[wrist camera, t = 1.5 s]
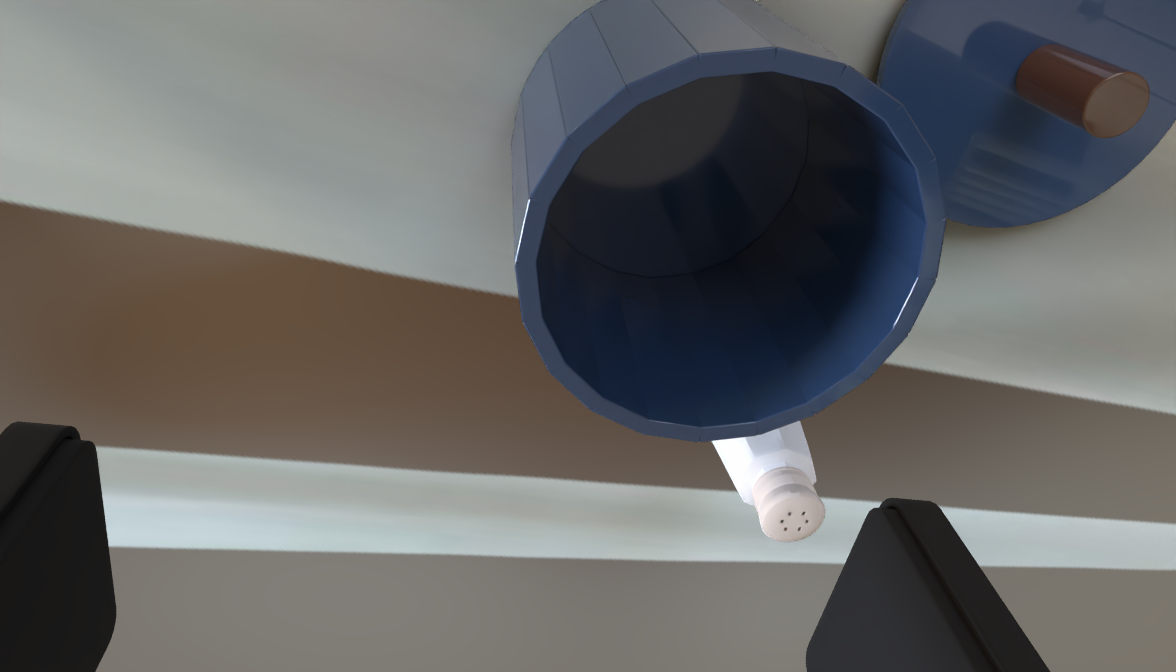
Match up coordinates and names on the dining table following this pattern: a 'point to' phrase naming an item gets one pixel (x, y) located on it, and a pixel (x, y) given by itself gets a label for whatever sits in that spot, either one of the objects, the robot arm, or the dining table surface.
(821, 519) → the salt shaker
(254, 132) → the dining table surface
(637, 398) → the pot
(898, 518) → the robot arm
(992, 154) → the lid
